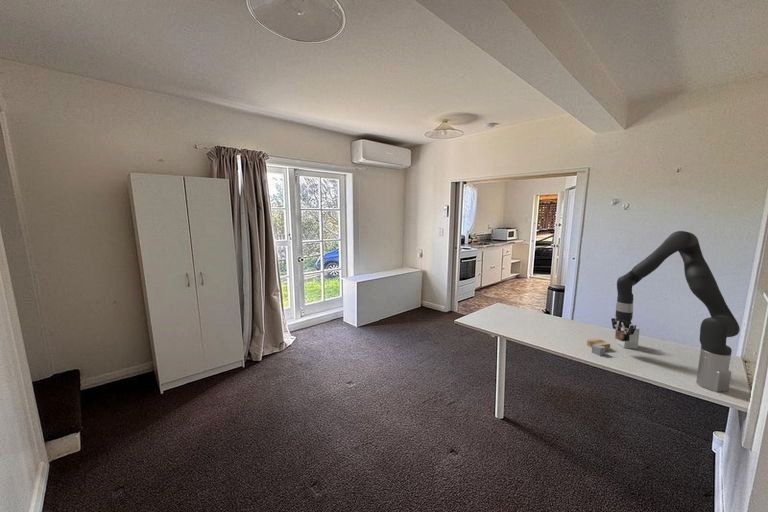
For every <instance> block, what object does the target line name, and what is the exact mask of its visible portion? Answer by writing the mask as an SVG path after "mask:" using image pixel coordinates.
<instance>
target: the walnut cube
mask: <svg viewBox="0 0 768 512" xmlns="http://www.w3.org/2000/svg"><path fill="white" fill-rule="evenodd" d="M624 334H625V333H624V331H623V330H622V331H616V330H615V335H614V338H615V340H617V341H618V340H620V341H624ZM629 339H630V335H629ZM628 341H629V340H628Z"/></svg>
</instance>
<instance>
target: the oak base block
mask: <svg viewBox="0 0 768 512" xmlns="http://www.w3.org/2000/svg"><path fill="white" fill-rule="evenodd" d="M595 344H599V345H601V346H604V347H606V348H605V351H610V350H611V343H610V342H607V341H606V340H603V339H601V338H590V339H587V340H586V346H587V347H589V348H591V349H592V345H595Z"/></svg>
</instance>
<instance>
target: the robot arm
mask: <svg viewBox="0 0 768 512" xmlns="http://www.w3.org/2000/svg"><path fill="white" fill-rule="evenodd" d="M677 252H678V253H679V256H680V257H681V259H682V262H683V266H684V267H683V268H684V277H685V280H686V283H687V285H688V287H689V290H690V291H691V292H692V294H694V296H695V297H696V298H697V299H698V300H700V301H701V302H702V303H703V305H704V306H705V307H706V308H707V310H708V313H709V315H710V317H705V318H704V319H703V320H702V322H701V323H700V328H699V342H700V353H699V360H698V366H697V375H696V380H695V381H696V384H697V385H698V386H700V387H702V388H705V389H707V390H710V391H712V392H713V391H714V392H716V393H720V392H721V391H723V392H729V390H730V383H731V379H732V378H731V377H732V371H730V364H731V359H732V351H733V349H732V348H731V347H730V346H729V345H727V338H733V337H736V336H738V335H739V333H740V331H741V330H740V329H741V328H740V325H739V323H738V321H737V319H736V318H735V316H734V314H733V313H732V311H731V309H730V308H729V306H728V305H727V302H726V300H725V298H724V296H723V294H722V292H721V289H720V287H719V286H718V283H717V280H716V279H715V276H714V274H713V272H712V270H711V269H710V266H709V265H708V263H707V261H706V260H705V258H704V255H703V252H702V249H701V246H700V242H699V239H698V237H697V236H696V235H695V234H693V233H692V232H689V231H687V230H677V231H674V232H672V233H671V234H670V235H668V237H667V238H666V239H665V240H664V241H663V242H662V243H661V244H660V245H659V246H658V247H657V248H656V249H655V250H654V251H652V252H651V253H650V254H648V256H646V257H645V258H644V259H643V260H641V261H640V262H639V263H637V264H636V265H635V266H634V267H632V268H631V270H630V271H628V272H627V273H626V274H624V275H622V276H619V277H618V279H617V280H616V291H617V297H616V304H615V305H616V306H615V317H613V318H612V317H611V325H612V329H614V330H615V332H616V331H621V329H622V328H623V330H624V333H625V334H624V341H628V340H629V335H633V334H634V332H635V329H636V327H637V325H635V324H633V323H632V320H633V317H634V293H633V287H634V286H635V285H637V284H638V283H639V282H640V281H641V280H642V279H644V278H646V277H647V276H649V275H650V274H651V273H653V272H654V271H656V270H657V269H658V268H659V267H660V266H661V265H662V264H663V263H664V261H665V260H667V259H668V258H670V256H672V255H674V254H675V253H677ZM626 328H627V329H626Z"/></svg>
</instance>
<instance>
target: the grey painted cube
mask: <svg viewBox="0 0 768 512" xmlns="http://www.w3.org/2000/svg"><path fill="white" fill-rule="evenodd" d="M605 348H606V347H604V346H601V345H599V344H595V345H592V348H591V354H594V355H597V356H599V357H600V356H604V355H606V350H605Z"/></svg>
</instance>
